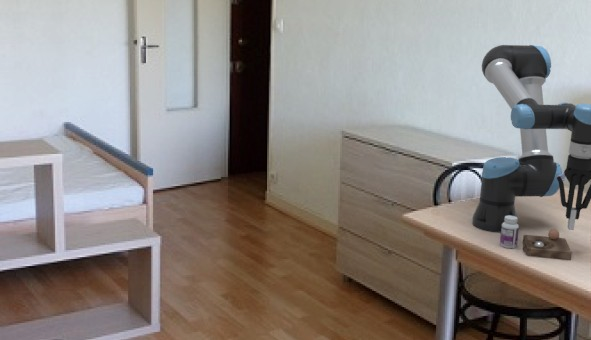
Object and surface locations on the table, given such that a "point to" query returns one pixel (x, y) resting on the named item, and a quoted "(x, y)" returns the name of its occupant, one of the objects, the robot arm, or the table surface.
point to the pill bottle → (509, 232)
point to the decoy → (553, 234)
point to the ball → (539, 244)
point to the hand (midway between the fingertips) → (570, 228)
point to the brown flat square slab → (547, 247)
